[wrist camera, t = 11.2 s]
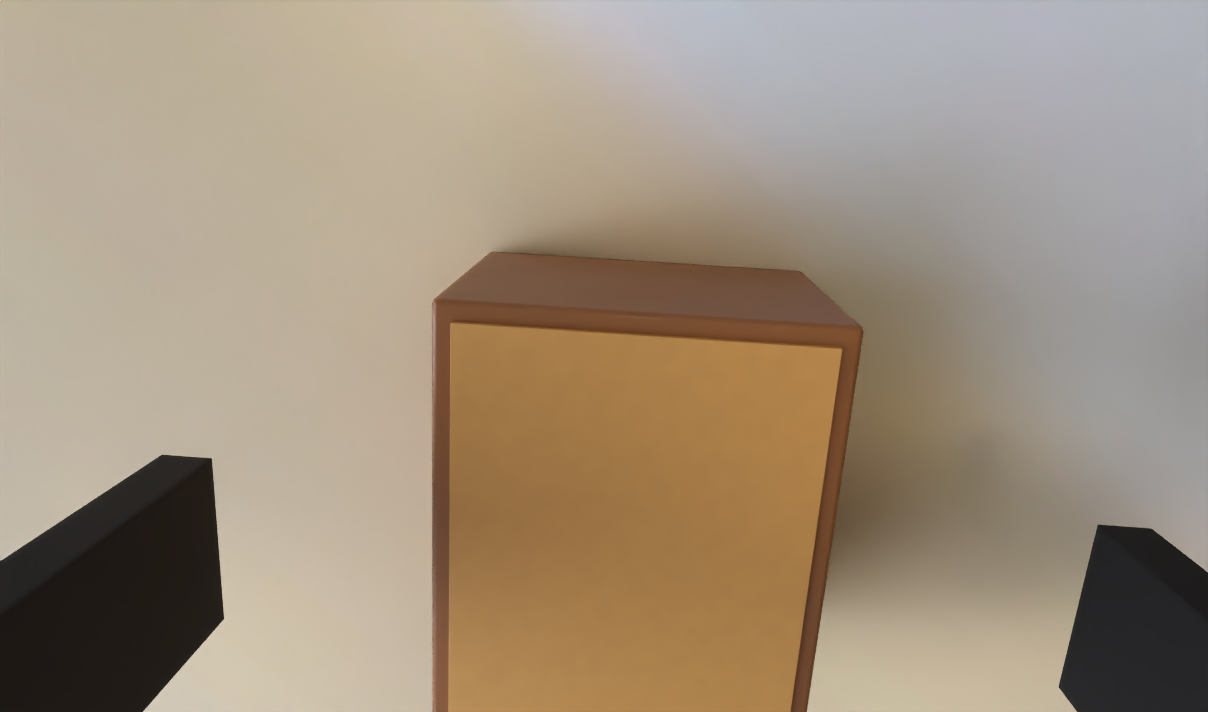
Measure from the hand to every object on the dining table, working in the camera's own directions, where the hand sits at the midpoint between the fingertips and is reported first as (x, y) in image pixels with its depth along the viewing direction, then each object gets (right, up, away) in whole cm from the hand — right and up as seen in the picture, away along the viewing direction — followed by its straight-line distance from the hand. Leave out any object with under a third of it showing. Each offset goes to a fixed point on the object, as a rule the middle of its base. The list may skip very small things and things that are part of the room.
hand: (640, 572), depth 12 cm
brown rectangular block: (0, +1, +4) cm, 5 cm away
